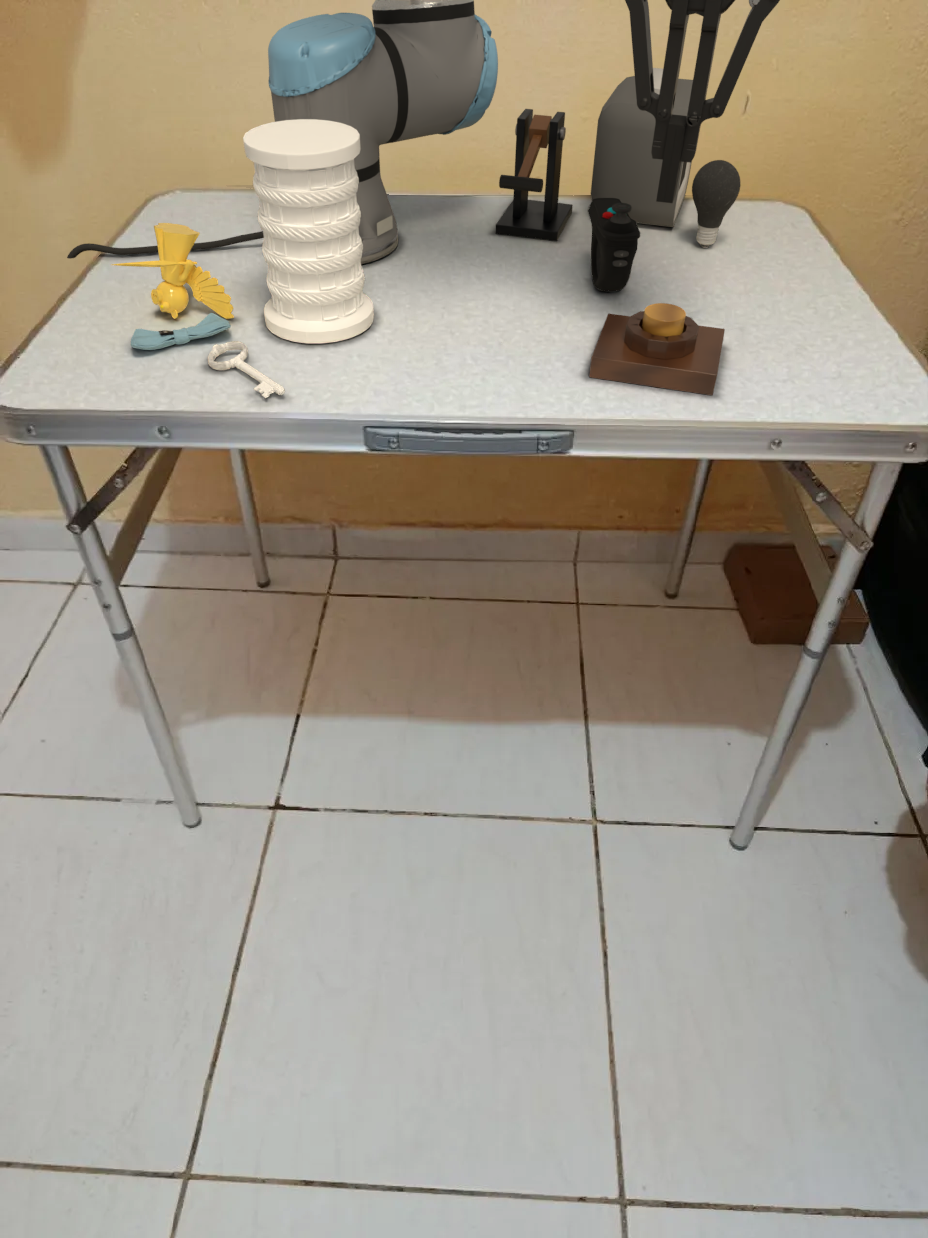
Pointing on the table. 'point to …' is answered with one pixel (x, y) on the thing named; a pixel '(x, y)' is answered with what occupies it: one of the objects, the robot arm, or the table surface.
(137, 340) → the bow tie
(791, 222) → the table surface
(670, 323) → the power button
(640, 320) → the switch block
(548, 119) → the lever
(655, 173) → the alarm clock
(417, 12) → the robot arm
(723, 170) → the light bulb
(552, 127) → the switch bracket
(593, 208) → the controller
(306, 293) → the decorative container
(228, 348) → the key
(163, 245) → the figurine
